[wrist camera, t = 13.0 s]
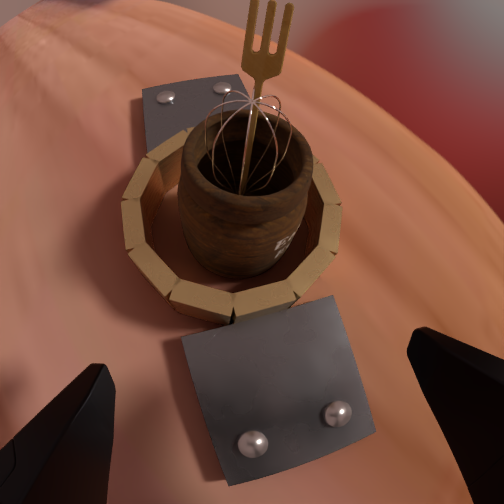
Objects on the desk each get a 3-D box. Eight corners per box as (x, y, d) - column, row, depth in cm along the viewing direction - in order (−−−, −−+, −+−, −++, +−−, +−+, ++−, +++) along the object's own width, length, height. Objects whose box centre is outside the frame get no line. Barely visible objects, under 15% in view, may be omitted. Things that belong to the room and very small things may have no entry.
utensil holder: (176, 276, 16) (115, 83, 5) (195, 180, 18) (189, -7, 7) (285, 288, 16) (403, 124, 5) (288, 192, 19) (353, 18, 8)
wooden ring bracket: (389, 417, 14) (419, 422, 11) (200, 485, 12) (196, 508, 9) (254, 81, 23) (258, 54, 20) (126, 102, 21) (119, 74, 18)
